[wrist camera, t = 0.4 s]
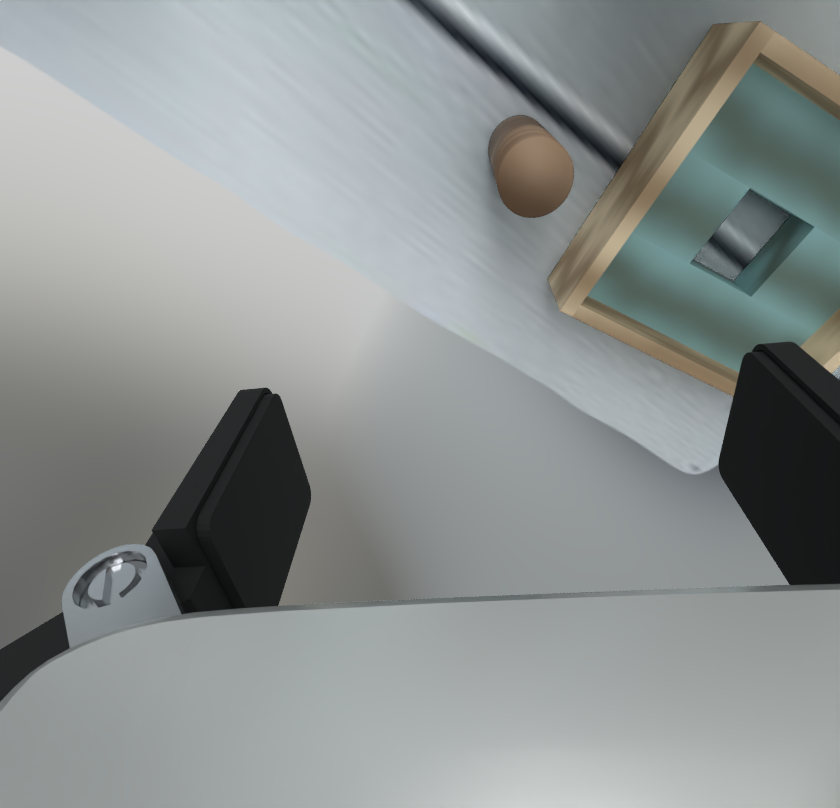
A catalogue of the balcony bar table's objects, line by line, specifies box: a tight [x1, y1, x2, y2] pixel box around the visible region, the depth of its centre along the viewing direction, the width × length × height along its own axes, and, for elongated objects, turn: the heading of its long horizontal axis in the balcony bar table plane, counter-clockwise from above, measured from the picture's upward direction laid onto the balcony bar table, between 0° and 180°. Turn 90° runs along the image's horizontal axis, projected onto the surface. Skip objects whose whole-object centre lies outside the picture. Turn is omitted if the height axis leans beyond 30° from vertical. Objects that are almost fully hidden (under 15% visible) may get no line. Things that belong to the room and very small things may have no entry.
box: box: [548, 21, 840, 397], centre depth 36 cm, size 18×20×6 cm
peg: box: [488, 115, 574, 218], centre depth 32 cm, size 4×4×10 cm
